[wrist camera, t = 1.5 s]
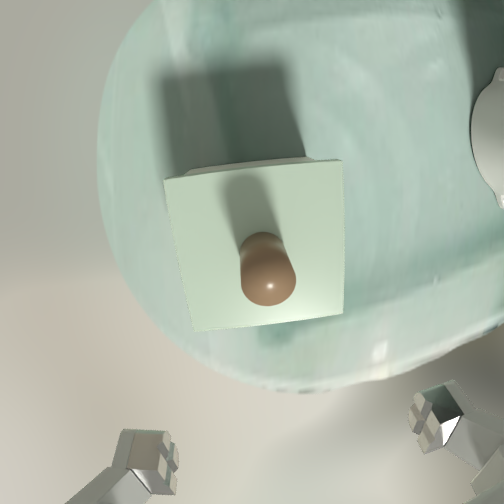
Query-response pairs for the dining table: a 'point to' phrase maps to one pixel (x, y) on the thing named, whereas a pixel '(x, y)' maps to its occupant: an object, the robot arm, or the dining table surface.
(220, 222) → the lid
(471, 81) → the dining table surface
